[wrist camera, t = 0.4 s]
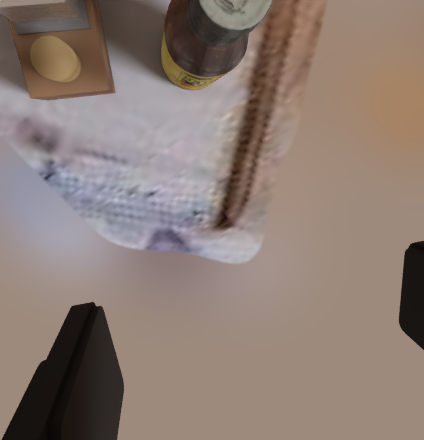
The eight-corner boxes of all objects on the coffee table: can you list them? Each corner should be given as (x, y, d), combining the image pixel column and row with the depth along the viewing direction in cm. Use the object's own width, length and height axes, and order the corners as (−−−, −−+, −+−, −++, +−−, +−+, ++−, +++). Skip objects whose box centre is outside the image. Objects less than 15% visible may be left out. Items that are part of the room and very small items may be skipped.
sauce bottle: (178, 101, 35) (195, 85, 16) (149, 43, 33) (132, -53, 14) (231, 74, 35) (310, 26, 16) (206, 14, 33) (264, -122, 14)
